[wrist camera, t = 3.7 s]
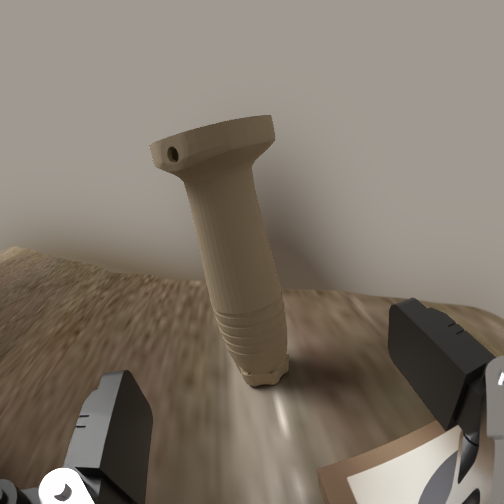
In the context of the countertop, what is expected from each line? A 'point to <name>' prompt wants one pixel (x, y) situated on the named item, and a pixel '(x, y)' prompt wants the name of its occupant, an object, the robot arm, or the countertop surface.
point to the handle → (233, 238)
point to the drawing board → (397, 471)
